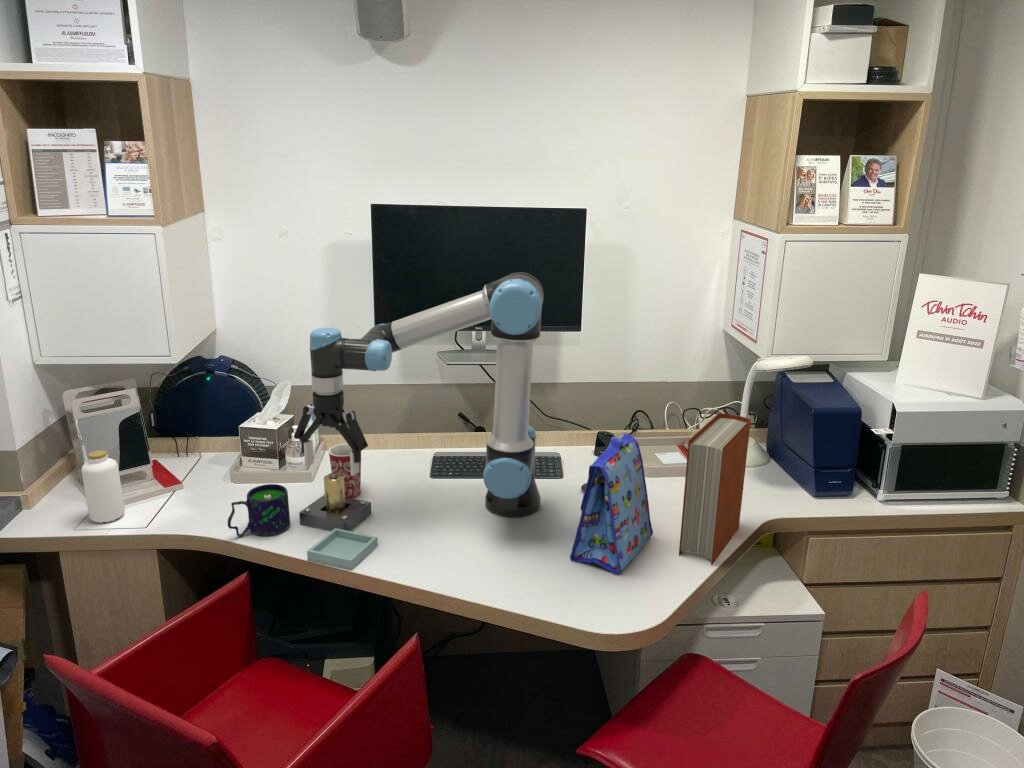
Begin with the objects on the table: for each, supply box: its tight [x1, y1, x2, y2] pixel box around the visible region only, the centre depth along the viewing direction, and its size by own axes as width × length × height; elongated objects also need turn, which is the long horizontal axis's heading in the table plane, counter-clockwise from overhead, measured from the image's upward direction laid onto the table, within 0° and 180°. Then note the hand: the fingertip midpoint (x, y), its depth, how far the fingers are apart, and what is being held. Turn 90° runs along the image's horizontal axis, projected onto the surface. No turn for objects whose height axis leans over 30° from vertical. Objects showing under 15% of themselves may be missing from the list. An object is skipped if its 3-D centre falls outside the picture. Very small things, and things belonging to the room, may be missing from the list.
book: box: [678, 413, 752, 566], centre depth 189 cm, size 23×8×30 cm, turn 148°
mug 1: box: [227, 483, 291, 538], centre depth 195 cm, size 15×10×10 cm, turn 117°
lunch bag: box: [569, 433, 654, 575], centre depth 185 cm, size 22×14×29 cm, turn 150°
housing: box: [298, 493, 372, 532], centre depth 201 cm, size 14×12×4 cm
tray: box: [306, 528, 379, 571], centre depth 186 cm, size 12×12×2 cm
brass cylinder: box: [323, 472, 346, 514], centre depth 200 cm, size 5×5×13 cm
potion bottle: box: [81, 450, 126, 524], centre depth 199 cm, size 8×8×18 cm
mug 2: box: [327, 442, 363, 499], centre depth 216 cm, size 13×9×14 cm
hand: (331, 469), depth 198 cm, fingers open, 13 cm apart
